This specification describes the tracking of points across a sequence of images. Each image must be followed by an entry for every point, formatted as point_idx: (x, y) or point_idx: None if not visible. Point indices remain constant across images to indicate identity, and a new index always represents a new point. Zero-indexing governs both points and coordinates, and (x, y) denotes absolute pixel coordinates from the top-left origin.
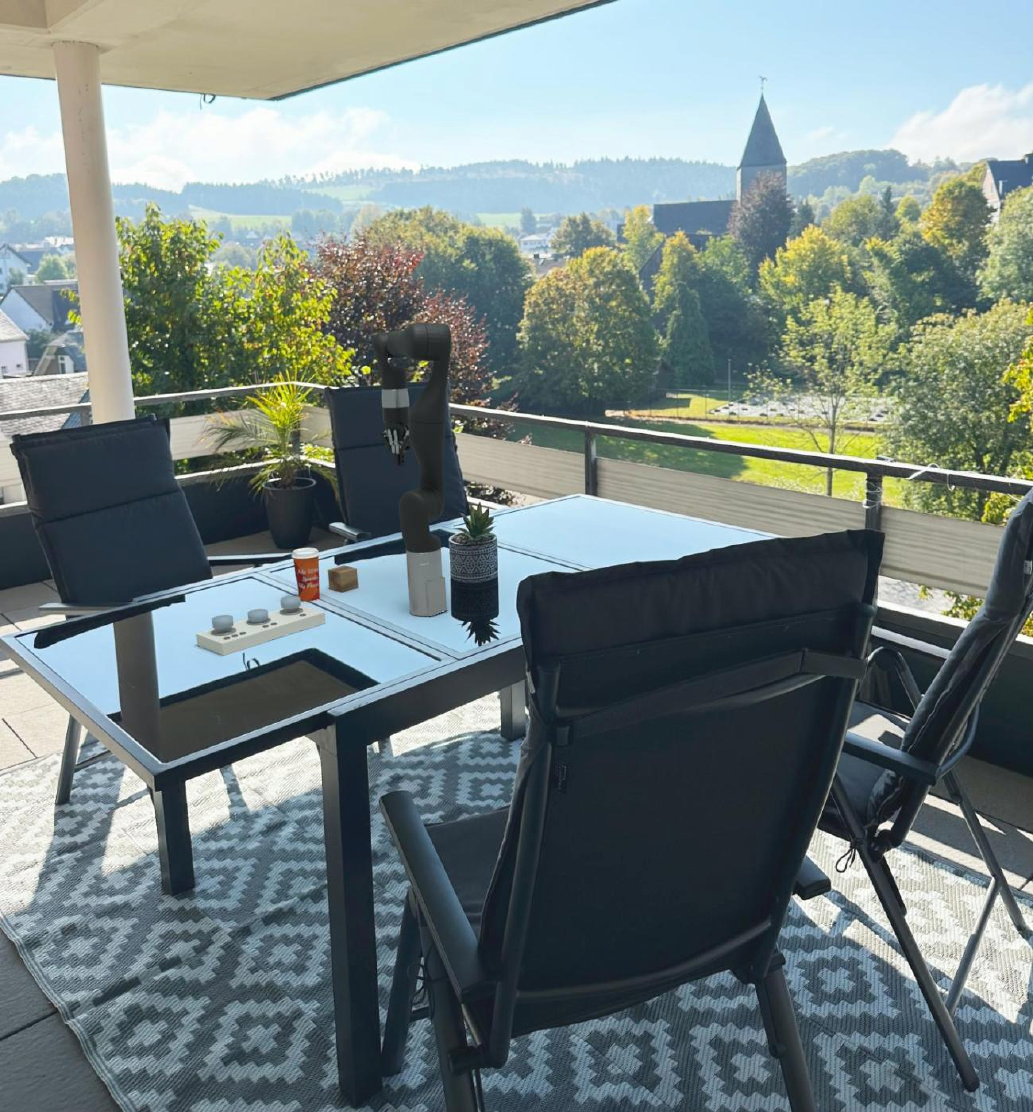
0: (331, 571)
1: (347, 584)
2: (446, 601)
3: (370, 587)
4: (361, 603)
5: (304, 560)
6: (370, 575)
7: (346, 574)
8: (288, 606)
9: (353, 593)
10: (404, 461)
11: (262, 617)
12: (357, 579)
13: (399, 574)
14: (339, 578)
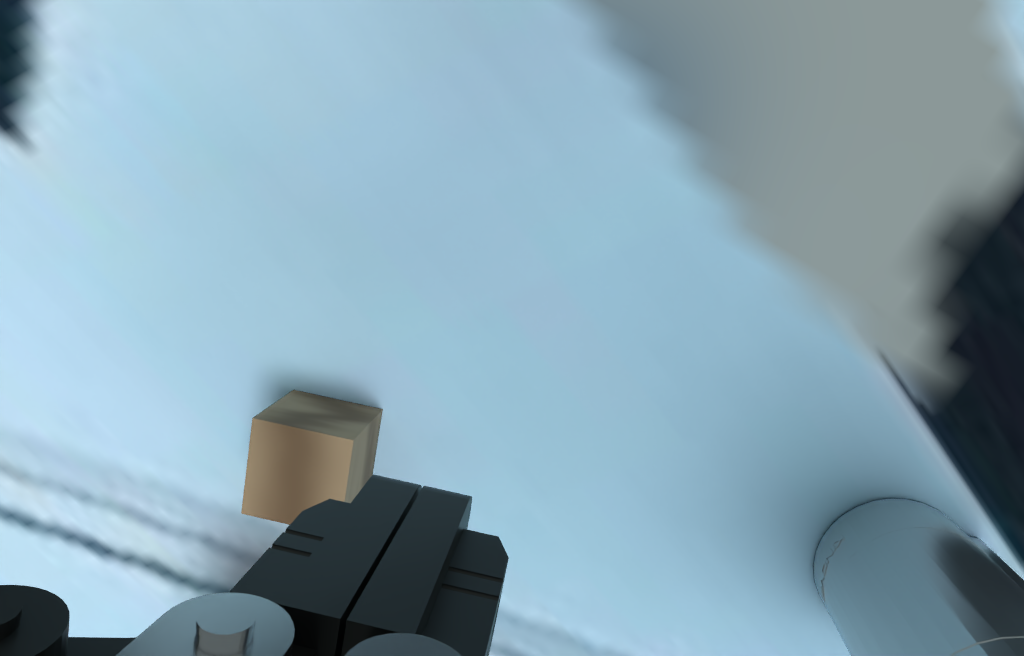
0: (272, 518)
1: (364, 476)
2: (1003, 561)
3: (425, 380)
4: (549, 579)
5: None
6: (286, 218)
7: (349, 496)
8: None
9: (419, 481)
10: (503, 569)
11: None
12: (369, 423)
13: (402, 139)
14: None
